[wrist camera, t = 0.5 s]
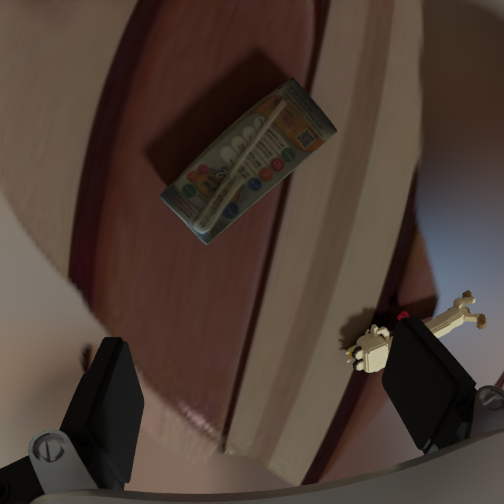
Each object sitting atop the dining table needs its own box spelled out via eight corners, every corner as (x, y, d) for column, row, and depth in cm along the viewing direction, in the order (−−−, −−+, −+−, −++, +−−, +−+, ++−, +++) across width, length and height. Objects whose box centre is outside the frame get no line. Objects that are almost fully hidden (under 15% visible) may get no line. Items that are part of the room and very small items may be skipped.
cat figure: (462, 275, 48) (340, 329, 47) (495, 296, 40) (366, 363, 38) (458, 320, 52) (345, 374, 50) (486, 343, 44) (367, 409, 42)
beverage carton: (164, 187, 38) (153, 197, 32) (283, 81, 35) (295, 71, 29) (209, 232, 41) (207, 251, 34) (325, 131, 37) (345, 131, 31)
